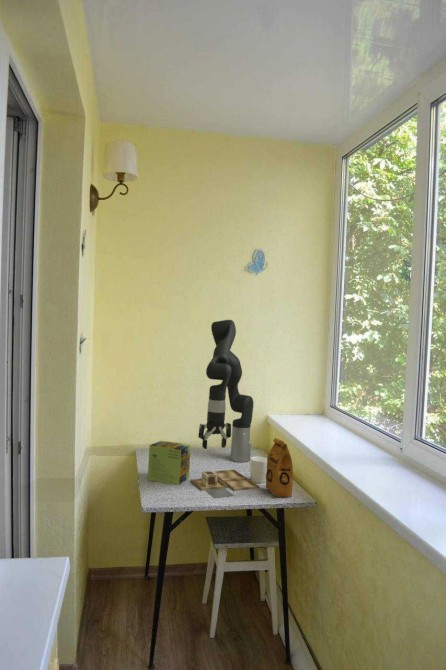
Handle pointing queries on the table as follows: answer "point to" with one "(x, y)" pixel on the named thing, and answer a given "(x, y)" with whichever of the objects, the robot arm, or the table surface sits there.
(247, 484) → the tray
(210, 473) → the letter cube
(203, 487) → the tray
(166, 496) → the table surface
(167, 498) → the table surface
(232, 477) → the tray
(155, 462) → the protein box
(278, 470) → the coffee package
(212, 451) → the table surface
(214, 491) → the slate tile
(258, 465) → the white cup
